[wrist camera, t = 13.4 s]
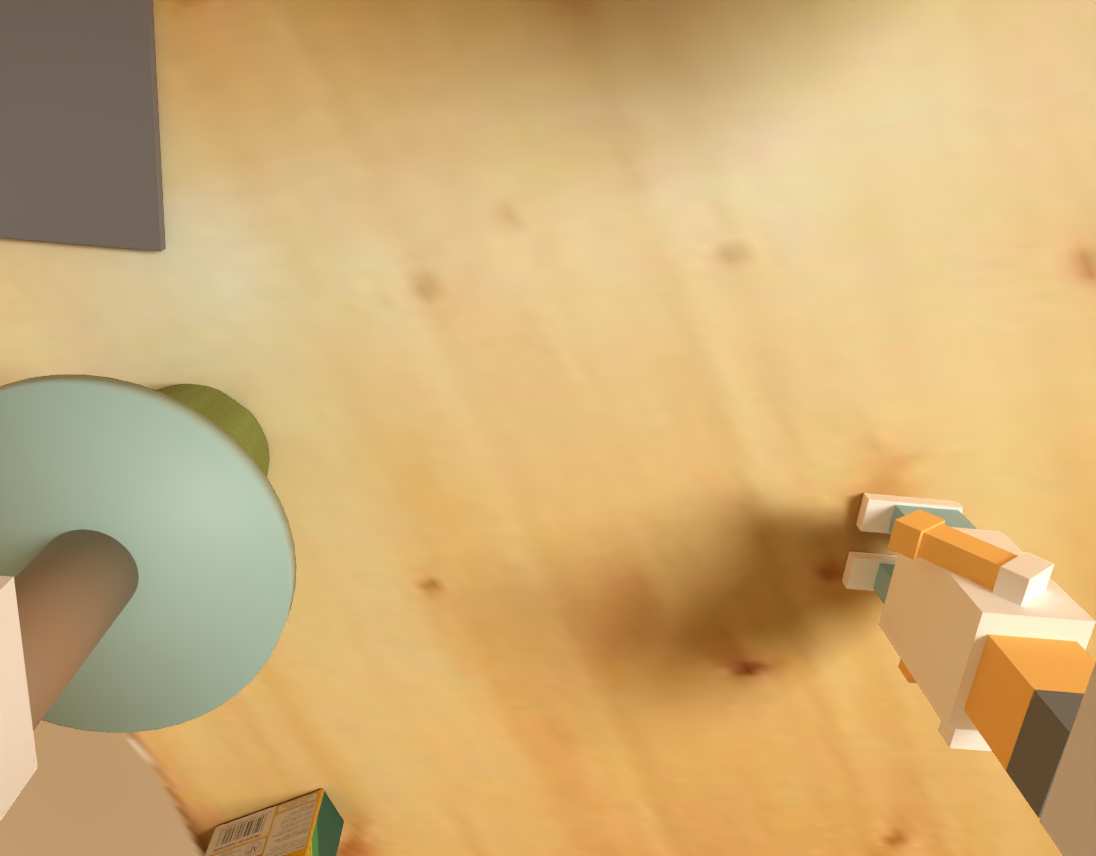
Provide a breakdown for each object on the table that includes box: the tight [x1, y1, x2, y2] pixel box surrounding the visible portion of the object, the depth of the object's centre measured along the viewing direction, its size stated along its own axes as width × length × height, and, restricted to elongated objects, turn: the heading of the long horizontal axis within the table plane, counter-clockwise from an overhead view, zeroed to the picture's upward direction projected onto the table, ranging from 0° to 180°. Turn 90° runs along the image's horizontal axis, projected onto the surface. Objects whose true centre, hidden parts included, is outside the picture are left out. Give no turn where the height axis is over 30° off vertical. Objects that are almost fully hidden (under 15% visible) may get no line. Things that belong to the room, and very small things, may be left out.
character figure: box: [842, 493, 1096, 818], centre depth 42 cm, size 8×10×18 cm
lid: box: [0, 375, 296, 733], centre depth 32 cm, size 15×15×11 cm
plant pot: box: [158, 384, 269, 477], centre depth 42 cm, size 12×12×11 cm
